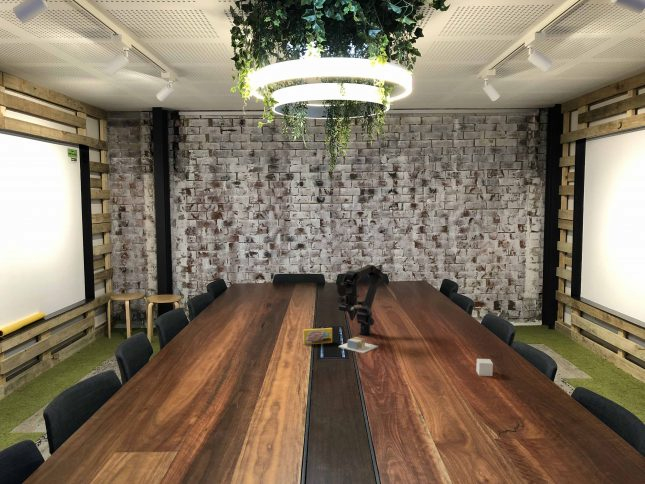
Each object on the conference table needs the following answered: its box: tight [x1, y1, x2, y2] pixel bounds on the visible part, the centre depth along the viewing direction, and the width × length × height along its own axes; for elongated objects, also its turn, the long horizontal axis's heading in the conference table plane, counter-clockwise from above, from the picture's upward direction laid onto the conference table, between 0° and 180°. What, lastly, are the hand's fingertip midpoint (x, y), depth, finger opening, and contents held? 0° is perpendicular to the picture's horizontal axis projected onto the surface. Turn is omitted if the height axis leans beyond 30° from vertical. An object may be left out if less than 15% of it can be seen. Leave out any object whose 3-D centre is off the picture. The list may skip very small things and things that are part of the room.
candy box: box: [302, 327, 333, 346], centre depth 274 cm, size 16×2×8 cm, turn 105°
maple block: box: [346, 336, 366, 350], centre depth 267 cm, size 4×6×8 cm
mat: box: [338, 342, 379, 354], centre depth 268 cm, size 14×16×1 cm
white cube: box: [475, 358, 494, 377], centre depth 231 cm, size 6×6×6 cm
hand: (351, 320), depth 281 cm, fingers closed
